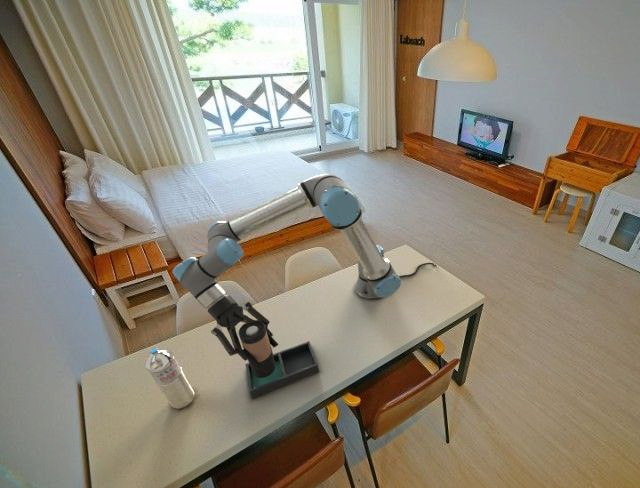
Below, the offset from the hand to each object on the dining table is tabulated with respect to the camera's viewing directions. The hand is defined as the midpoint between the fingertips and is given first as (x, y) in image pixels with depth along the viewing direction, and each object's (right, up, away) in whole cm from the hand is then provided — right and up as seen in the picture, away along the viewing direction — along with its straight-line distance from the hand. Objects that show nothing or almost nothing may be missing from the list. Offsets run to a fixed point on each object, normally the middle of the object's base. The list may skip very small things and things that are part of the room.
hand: (266, 355), depth 102 cm
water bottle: (-28, -15, +2) cm, 32 cm away
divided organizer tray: (+1, -10, +11) cm, 15 cm away
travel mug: (-3, -7, +7) cm, 10 cm away
